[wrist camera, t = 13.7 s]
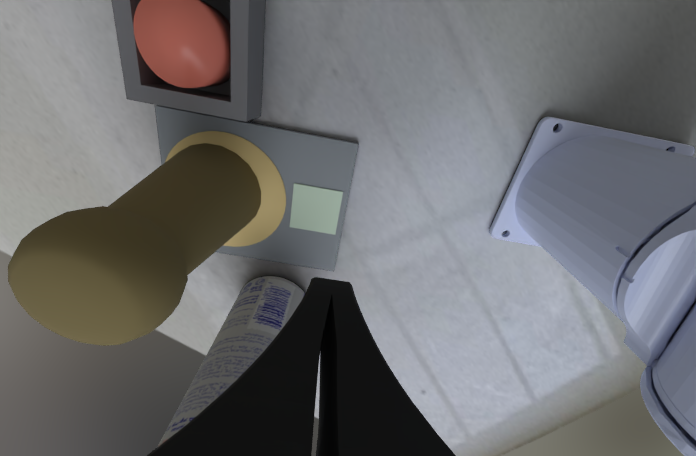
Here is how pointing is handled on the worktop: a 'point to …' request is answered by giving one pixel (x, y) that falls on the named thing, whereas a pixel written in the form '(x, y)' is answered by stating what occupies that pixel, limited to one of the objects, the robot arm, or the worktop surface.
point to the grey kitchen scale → (276, 184)
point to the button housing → (223, 100)
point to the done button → (184, 42)
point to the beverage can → (239, 343)
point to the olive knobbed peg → (134, 248)
